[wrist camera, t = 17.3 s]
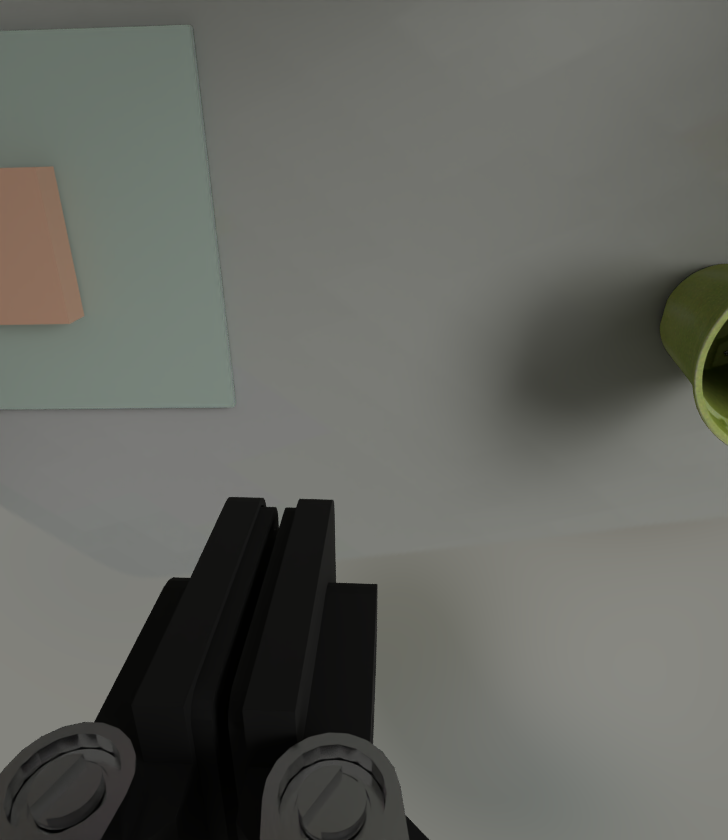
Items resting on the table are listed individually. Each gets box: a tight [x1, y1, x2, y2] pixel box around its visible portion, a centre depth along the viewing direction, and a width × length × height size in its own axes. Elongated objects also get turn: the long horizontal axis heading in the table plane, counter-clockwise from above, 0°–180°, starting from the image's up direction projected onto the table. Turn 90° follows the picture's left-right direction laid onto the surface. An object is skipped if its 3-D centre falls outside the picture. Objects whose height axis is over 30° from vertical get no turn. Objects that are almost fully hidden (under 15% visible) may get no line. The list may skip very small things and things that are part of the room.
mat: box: [0, 25, 236, 409], centre depth 34 cm, size 20×16×1 cm
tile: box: [0, 166, 84, 325], centre depth 33 cm, size 8×2×6 cm
